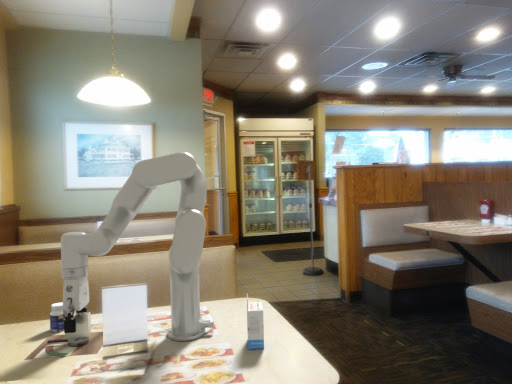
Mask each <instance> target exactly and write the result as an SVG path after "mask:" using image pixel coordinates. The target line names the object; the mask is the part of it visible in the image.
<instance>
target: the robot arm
mask: <svg viewBox="0 0 512 384" xmlns="http://www.w3.org/2000/svg"><path fill="white" fill-rule="evenodd" d="M174 182H180V193H179V194H180V196H179V202H178V208H177V213H176V216H175V219H174V231H173V235H172V243H171V245H170V247H169V250H168V263H169V264H168V267H169V284H170V285H169V286H170V287H169V288H170V290H169V291H170V294H169V295H170V318H171V327H170V328H168V330H167V332H166V336H167V338H168V339H170V340H172V341H176V342H185V341H187V342H188V341H191V340H192V341H193V340H196V339H198V338H201V337H202V336H203V335H205V333H206V328H207V329H208V328H209V329H210V328H215V321H212V320H211V319H205V320H204V319H202V315H201V304H200V303H201V301H200V298H201V297H200V273H199V272H200V271H199V265H200V262H201V259H202V254H203V249H204V242H205V237H206V231H207V221H206V218H205V214H204V213H205V206H206V200H207V192H208V190H207V189H208V187H207V185H208V183H207V179H206V176H205V173H204V171H203V170H202V169H201V167H200V166H199V165H198V164H197V160H196V159H195V157H194V156H193V155H192V154H191V153H189V152H184V151H180V152H174V153H171V154H170V153H169V154H166V155H162V156H157V157H152V158H147V159H142V160H139V161H137V162H136V164H135V165H134V166H133V168H132V171H131V174H130V176H129V177H128V178H127V180H126V181H125V183H124V184H123V186H122V187H121V188H120V190H119V191H118V192H117V194H116V195H115V196H114V199H113V200H112V204H111V207H110V209H109V211H108V213H107V215H106V216H105V218H104V219H103V220H102V222H101V224H100V225H99V226H98V228H97V229H96V230H95V231H94V232H90V233H86V232H84V231H69V232H65V233H62V234H61V237H60V259H61V260H60V261H61V267H60V268H61V279H63V283H62V302H63V317H64V318H63V320H64V331H63V332H64V333H63V334H65V333H75V332H76V319H74V318H75V314H76V313H82V312H88V308H87V307H88V305H89V303H90V288H89V286H90V285H89V279H88V276H89V256H90V257H91V256H92V257H101V256H105V255H106V254H108V253H109V252H110V251H111V250H112V248H114V246H115V244H116V243H117V242H118V240H119V239H120V237H121V236H122V234H123V233H124V231H126V229H127V227H128V226H129V224H130V223H131V222H132V220H133V219H134V218H135V217H136V216H137V214H138V213H139V212H140V210H141V209H142V207H143V206H144V204H145V202H146V201H147V200H148V198H149V196H150V195H151V193H152V192H153V190H155V188H156V186H161V185H166V184H169V183H174ZM71 313H72V315H71Z"/></svg>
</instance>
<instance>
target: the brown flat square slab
mask: <svg viewBox="0 0 512 384" xmlns="http://www.w3.org/2000/svg"><path fill="white" fill-rule="evenodd" d="M57 339H65V334H55V335H54V334H53V335H49V336H48V337H47V338H46V339H44V340H43V342H41V343H40V344H39V345H38V346H37V347H36V348H35V349H34V350H33V351H32V352H30V354H28V355H27V356H26V357H25V358H24V359H23V360H24V361H26V360H28V361H29V360H38V359H51V358H65V357H72V356H86V355H97V354H98V353H99V351H100V350H101V349H102V347H103V345H104V344H103V331H93V332H92V331H91V335H90V336H89V342H88V343H86V344H84V345H81V346H77V347H70V346H68V342H59V343H47V341H48V340H57Z"/></svg>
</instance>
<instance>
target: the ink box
mask: <svg viewBox="0 0 512 384" xmlns="http://www.w3.org/2000/svg"><path fill="white" fill-rule="evenodd" d="M248 296H249V295H248V293H246V325H247V326H246V327H247V343H248V344H247V346H248V350H261V349H262V350H264V349H265V333H264V330H265V329H264V327H265V326H264V307H263V302H262V301H256V302H255V301H254V302H253V301H252V302H249V301H248V300H249V299H248Z"/></svg>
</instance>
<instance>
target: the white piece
mask: <svg viewBox="0 0 512 384" xmlns="http://www.w3.org/2000/svg"><path fill="white" fill-rule="evenodd" d="M70 313H71V315H72V313H73V312H70ZM74 319H76V332H75V333H64V335H65V339H57V340H48V341H47V343H59V342H68V346H70V347H77V346H81V345H84V344H86V343H88V342H89V336H90V335H91V332H92V321H91V319H92V317H91V311H89V312H88V311H87V312H82V313H76V314H75V318H74Z"/></svg>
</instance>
